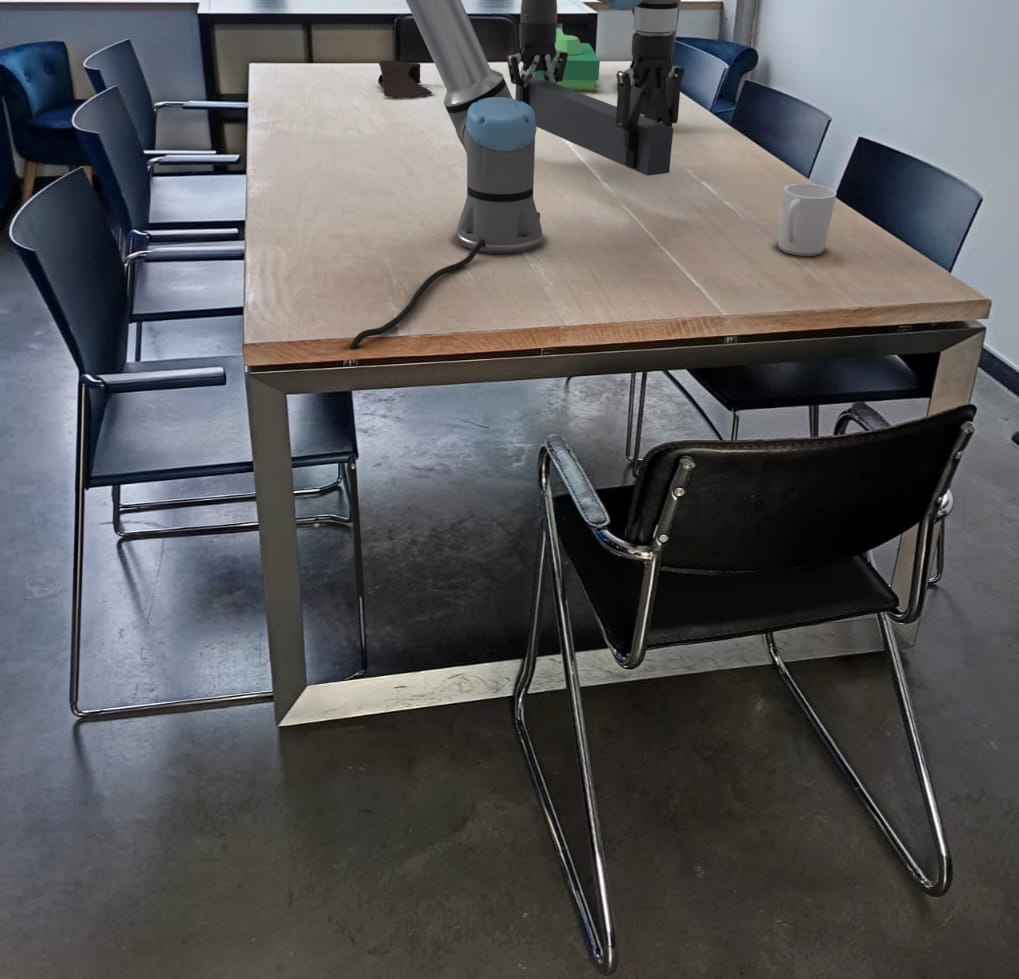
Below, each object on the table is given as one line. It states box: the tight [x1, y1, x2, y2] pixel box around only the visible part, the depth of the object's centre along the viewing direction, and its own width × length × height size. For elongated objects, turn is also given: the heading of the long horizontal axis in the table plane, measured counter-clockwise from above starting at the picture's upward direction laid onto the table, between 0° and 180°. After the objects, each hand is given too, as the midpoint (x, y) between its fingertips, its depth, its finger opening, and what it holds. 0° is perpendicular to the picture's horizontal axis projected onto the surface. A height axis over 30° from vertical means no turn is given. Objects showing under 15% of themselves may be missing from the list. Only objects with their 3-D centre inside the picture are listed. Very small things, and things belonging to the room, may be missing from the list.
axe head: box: [377, 59, 433, 99], centre depth 299 cm, size 18×8×15 cm
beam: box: [515, 76, 674, 177], centre depth 219 cm, size 50×5×8 cm, turn 29°
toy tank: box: [533, 27, 601, 91], centre depth 314 cm, size 18×12×35 cm
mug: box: [777, 183, 837, 257], centre depth 191 cm, size 11×9×10 cm
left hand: (643, 164), depth 206 cm, fingers closed on beam, 5 cm apart
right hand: (536, 103), depth 235 cm, fingers closed on beam, 5 cm apart
